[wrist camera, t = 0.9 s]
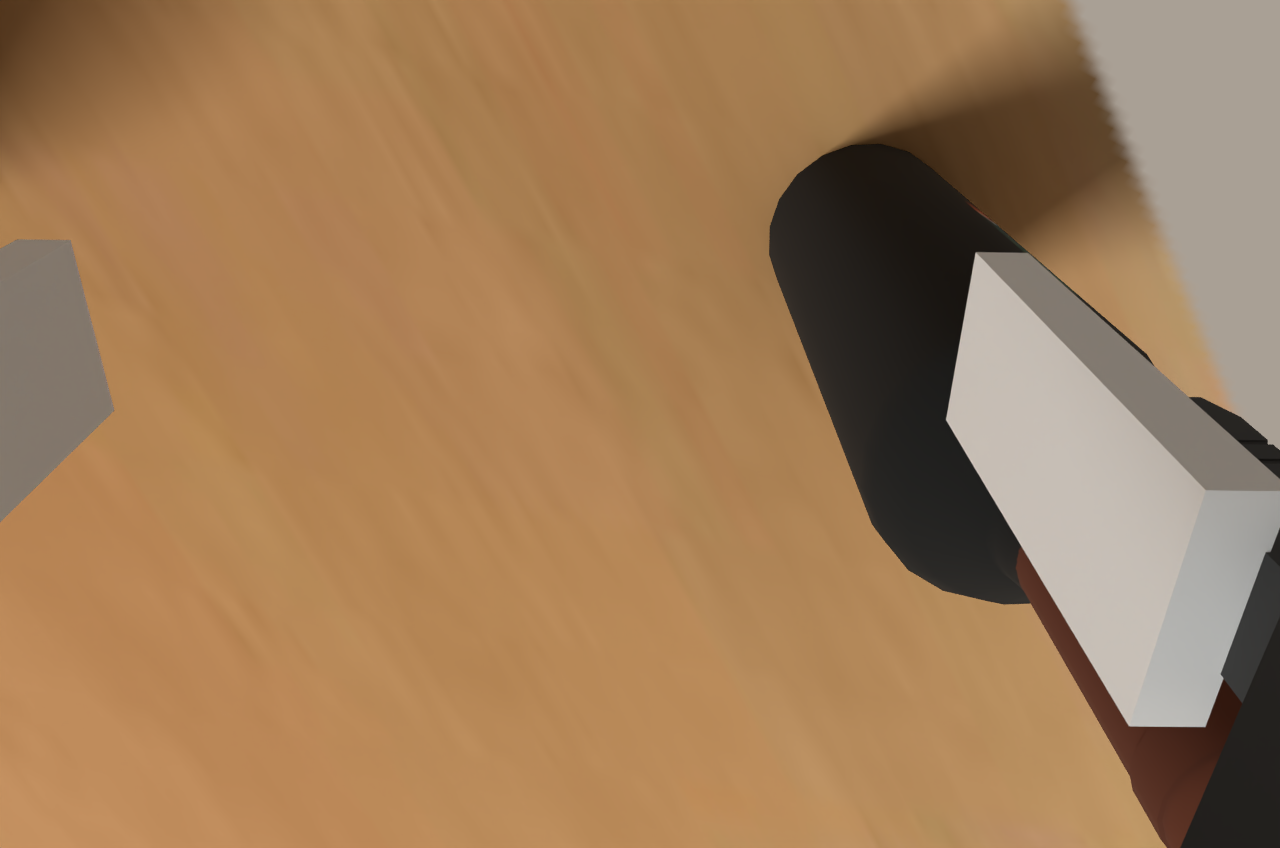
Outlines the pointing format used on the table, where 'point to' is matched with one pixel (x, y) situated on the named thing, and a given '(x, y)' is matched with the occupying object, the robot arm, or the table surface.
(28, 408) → the robot arm
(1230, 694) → the wine bottle
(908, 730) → the table surface
